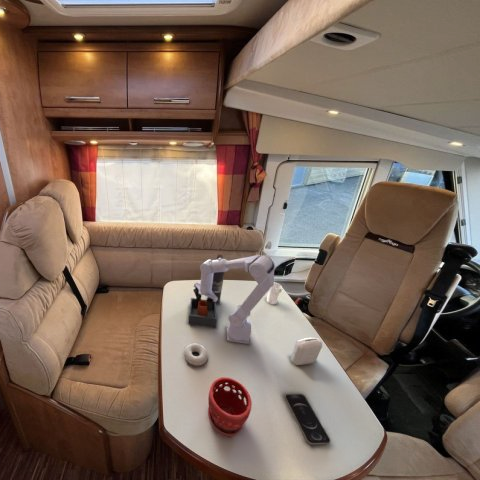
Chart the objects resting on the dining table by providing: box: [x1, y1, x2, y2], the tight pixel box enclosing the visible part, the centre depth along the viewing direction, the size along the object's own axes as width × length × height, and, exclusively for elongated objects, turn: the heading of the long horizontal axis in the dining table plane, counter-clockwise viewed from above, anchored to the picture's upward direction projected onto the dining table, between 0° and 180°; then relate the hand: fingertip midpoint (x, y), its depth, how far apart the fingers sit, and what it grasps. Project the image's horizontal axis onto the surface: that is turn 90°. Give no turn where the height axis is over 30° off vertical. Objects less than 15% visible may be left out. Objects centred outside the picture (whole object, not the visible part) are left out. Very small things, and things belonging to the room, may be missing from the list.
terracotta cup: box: [197, 299, 208, 317], centre depth 121 cm, size 5×5×8 cm
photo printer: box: [290, 337, 323, 366], centre depth 97 cm, size 10×4×12 cm, turn 100°
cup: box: [266, 281, 283, 305], centre depth 132 cm, size 7×7×11 cm
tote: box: [187, 297, 218, 329], centre depth 122 cm, size 14×14×5 cm
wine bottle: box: [206, 254, 225, 306], centre depth 127 cm, size 7×7×30 cm
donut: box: [183, 343, 208, 366], centre depth 100 cm, size 10×4×10 cm
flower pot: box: [207, 376, 253, 437], centre depth 77 cm, size 13×13×12 cm
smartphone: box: [284, 393, 331, 446], centre depth 80 cm, size 8×1×15 cm
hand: (203, 304), depth 120 cm, fingers open, 7 cm apart
